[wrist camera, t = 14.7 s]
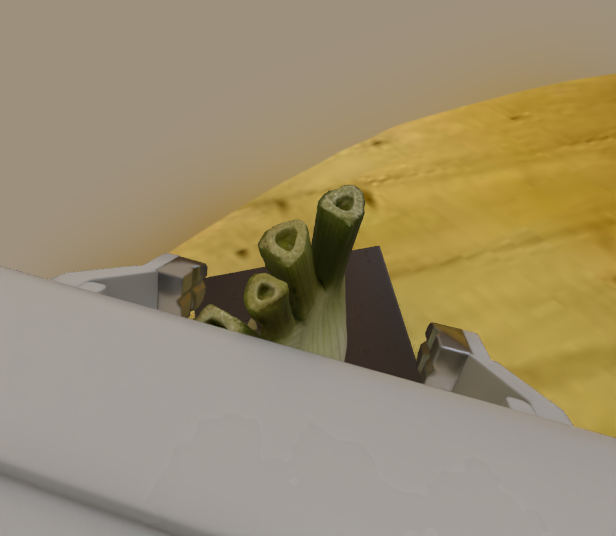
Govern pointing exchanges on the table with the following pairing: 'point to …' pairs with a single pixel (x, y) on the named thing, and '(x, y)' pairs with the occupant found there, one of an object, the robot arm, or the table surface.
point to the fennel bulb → (302, 280)
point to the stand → (359, 313)
